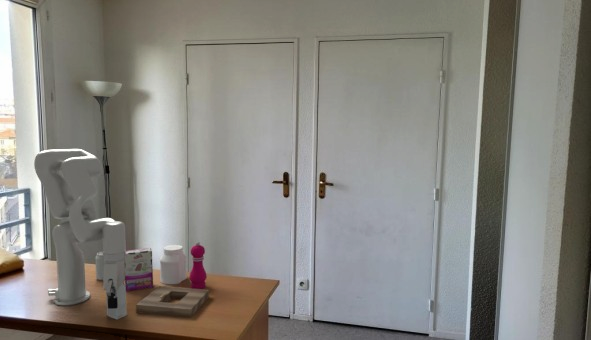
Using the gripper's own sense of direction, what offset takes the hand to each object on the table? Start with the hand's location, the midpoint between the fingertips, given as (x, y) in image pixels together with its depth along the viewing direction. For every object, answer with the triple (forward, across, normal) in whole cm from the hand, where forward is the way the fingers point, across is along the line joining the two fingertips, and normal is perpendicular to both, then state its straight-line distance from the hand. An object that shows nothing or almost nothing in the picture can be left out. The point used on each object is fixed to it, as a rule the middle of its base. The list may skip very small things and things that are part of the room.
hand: (116, 303), depth 147 cm
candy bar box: (+5, -26, +1) cm, 27 cm away
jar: (+5, -34, +14) cm, 37 cm away
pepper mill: (+5, -25, +26) cm, 36 cm away
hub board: (+5, -8, +19) cm, 21 cm away
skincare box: (+5, 0, 0) cm, 5 cm away
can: (+5, -38, -17) cm, 42 cm away
